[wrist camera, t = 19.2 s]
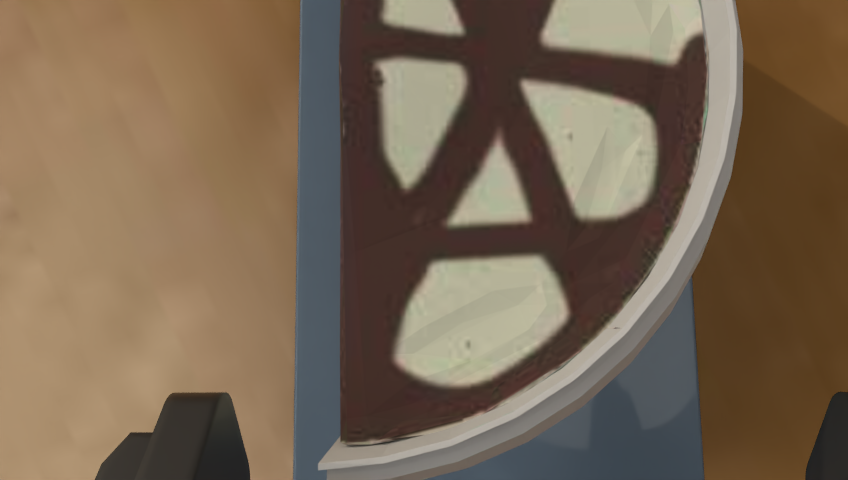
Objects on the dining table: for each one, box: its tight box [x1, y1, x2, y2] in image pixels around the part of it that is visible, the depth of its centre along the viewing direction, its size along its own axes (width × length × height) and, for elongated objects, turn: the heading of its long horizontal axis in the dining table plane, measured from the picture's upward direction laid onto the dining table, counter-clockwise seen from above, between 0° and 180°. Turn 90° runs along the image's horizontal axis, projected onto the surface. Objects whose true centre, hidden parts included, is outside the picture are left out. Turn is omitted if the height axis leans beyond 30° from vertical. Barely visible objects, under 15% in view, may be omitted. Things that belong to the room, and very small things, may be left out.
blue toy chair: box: [293, 0, 704, 480], centre depth 21 cm, size 18×10×15 cm, turn 1°
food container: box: [318, 0, 743, 480], centre depth 16 cm, size 12×6×10 cm, turn 1°
